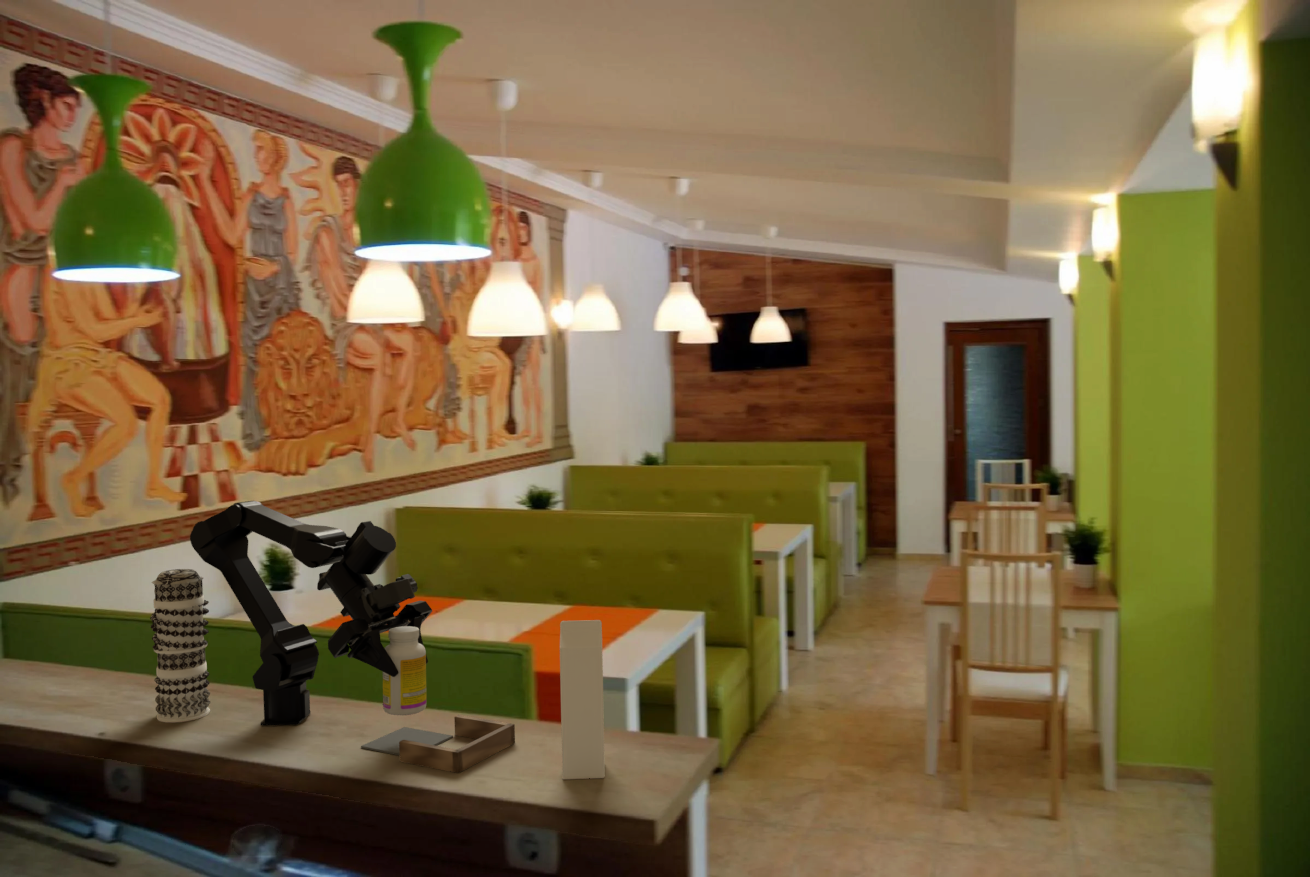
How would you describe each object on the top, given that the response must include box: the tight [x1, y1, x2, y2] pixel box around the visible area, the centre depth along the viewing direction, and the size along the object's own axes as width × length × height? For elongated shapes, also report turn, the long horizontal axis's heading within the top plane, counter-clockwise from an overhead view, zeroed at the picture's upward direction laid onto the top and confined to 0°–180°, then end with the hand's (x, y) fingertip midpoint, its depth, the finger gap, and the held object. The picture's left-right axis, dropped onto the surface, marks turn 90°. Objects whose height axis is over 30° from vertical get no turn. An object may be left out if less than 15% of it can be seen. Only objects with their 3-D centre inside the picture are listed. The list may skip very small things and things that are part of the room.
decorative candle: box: [149, 568, 211, 723], centre depth 180 cm, size 9×9×25 cm
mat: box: [360, 726, 454, 756], centre depth 164 cm, size 10×10×1 cm
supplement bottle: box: [382, 626, 427, 716], centre depth 164 cm, size 7×7×13 cm
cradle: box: [399, 714, 516, 774], centre depth 159 cm, size 11×14×3 cm
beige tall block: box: [559, 619, 606, 780], centre depth 150 cm, size 6×6×22 cm
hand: (411, 669), depth 163 cm, fingers closed on supplement bottle, 6 cm apart
